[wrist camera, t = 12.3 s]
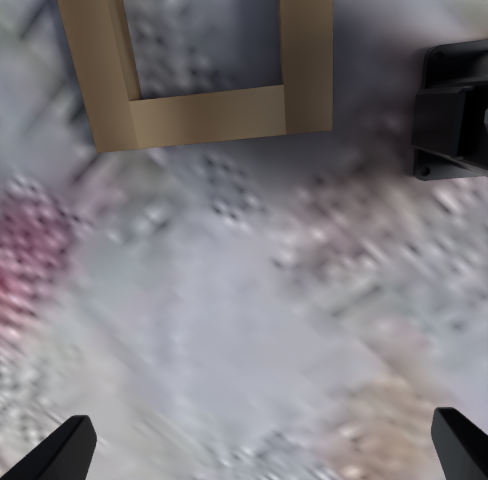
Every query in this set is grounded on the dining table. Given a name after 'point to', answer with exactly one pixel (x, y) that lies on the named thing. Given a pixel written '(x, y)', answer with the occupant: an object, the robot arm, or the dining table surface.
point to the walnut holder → (206, 104)
